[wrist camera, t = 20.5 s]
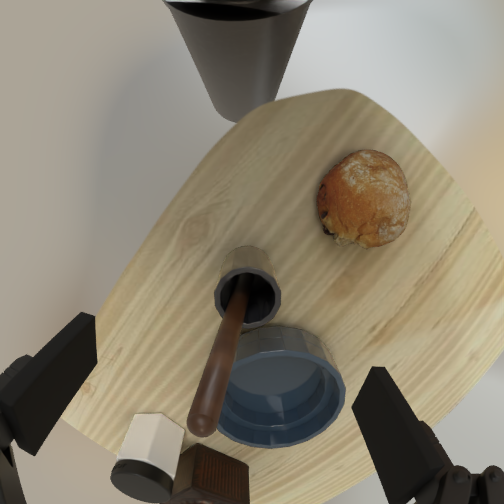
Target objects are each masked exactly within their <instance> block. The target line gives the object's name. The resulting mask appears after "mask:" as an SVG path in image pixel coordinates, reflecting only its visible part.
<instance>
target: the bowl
mask: <svg viewBox="0 0 504 504" xmlns="http://www.w3.org/2000/svg"><path fill="white" fill-rule="evenodd" d="M345 392H346V388H345V385H344V382H343V380H342V377H341V374H340V372H339V370H338V368H337V365H336V363H335V361H334V359H333V357H332V355H331V353H330V350H329V349H328V348H327V347H326V346H325V345H324V344H323V343H322V342H321V341H320V340H319V339H318V338H317V337H315V336H313V335H311V334H309V333H307V332H305V331H303V330H301V329H296V328H289V327H283V326H274V327H264V328H257V329H255V330H252V331H249V332H247V333H244V334H242V335H240V337H239V341H238V345H237V350H236V354H235V358H234V362H233V366H232V370H231V374H230V378H229V382H228V386H227V390H226V394H225V398H224V402H223V406H222V410H221V414H220V417H219V421H218V425H217V429H218V431H219V432H221V433H222V434H224V435H225V436H227V437H228V438H230V439H231V440H233V441H235V442H238V443H241V444H244V445H247V446H250V447H258V448H268V449H273V448H282V447H290V446H293V445H296V444H299V443H302V442H305V441H308V440H310V439H312V438H313V437H315V436H317V435H318V434H320V433H322V432H323V431H325V430H326V429H327V428H328V427H329V426H330V425H331V424H332V423H333V422H334V421H335V420H336V419H337V417H338V415H339V413H340V411H341V409H342V408H343V406H344V402H345Z"/></svg>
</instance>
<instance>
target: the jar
mask: <svg viewBox="0 0 504 504" xmlns="http://www.w3.org/2000/svg"><path fill="white" fill-rule="evenodd" d="M184 433H185V430H184V429H183V428H181V427H180V426H179V425H177V424H176V423H174V422H173V421H172V420H170V419H169V418H167V417H166V416H165V415H163V414H162V413H151V414H135V415H134V417H133V419H132V422H131V424H130V426H129V429H128V431H127V433H126V436H125V438H124V440H123V443H122V445H121V448H120V450H119V452H118V455H117V462H116V464H115V466H114V468H113V470H112V473H111V477H110V479H111V482H112V484H113V485H114V486H115V487H116V488H117V489H119V490H120V491H121V492H122V493H124V494H126V495H128V496H130V497H132V498H134V499H137V500H140V501H144V502H148V503H164V502H167V501H169V500H170V498H171V495H172V490H173V485H174V482H173V481H174V478H175V475H176V470H177V465H178V460H179V456H180V451H181V446H182V442H183V437H184Z"/></svg>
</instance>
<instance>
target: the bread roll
mask: <svg viewBox="0 0 504 504" xmlns="http://www.w3.org/2000/svg"><path fill="white" fill-rule="evenodd" d="M410 206H411V200H410V197H409V192H408V189H407V183H406V179H405V176H404V174H403V172H402V170H401V168H400V167H399V165H398V164H397V163H396V162H395V161H394V160H393V159H392V158H390V157H389V156H387V155H386V154H384V153H381V152H378V151H375V150H360V151H357V152H355V153H351V154H350V155H349V156H348V157H345V158H344V159H343V161H341V162H339V164H337V165H335V166H334V168H332V169H331V170H330V171H329V173H328V174H326V176H325V177H324V179H323V180H322V181H321V183H320V186H319V192H318V195H317V207H318V211H319V217H320V220H321V222H322V223H323V226H324V233H325V234H327V235H334V242H336V243H337V244H338V245H339V246H345V245H347V244H352V243H354V244H359V245H361V246H362V247H364V248H365V249H368V248H370V247H379V246H382V245H385V244H387V243H390V242H392V241H394V240H395V239H396V238H398V237H399V236H400V235H401V234H402V232H403V231H404V230H405V227H406V225H407V222H408V218H409V211H410Z"/></svg>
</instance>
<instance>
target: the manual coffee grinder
mask: <svg viewBox="0 0 504 504" xmlns="http://www.w3.org/2000/svg"><path fill="white" fill-rule="evenodd" d="M173 482H174V485H173V490H172V495H171V498H170V500H169V501H167V502H164V503H160V504H250V496H249V466H248V465H246V464H245V463H243V462H241V461H239V460H236V459H234V458H232V457H229V456H227V455H225V454H222V453H220V452H218V451H215V450H213V449H210V448H208V447H206V446H203V445H201V444H199V443H197V444H195V445H193V446H192V447H190V448H189V449H187V450H186V451H185V452H183V453H182V454H181V455H180V456H179V460H178V465H177V470H176V475H175V478H174V481H173Z"/></svg>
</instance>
